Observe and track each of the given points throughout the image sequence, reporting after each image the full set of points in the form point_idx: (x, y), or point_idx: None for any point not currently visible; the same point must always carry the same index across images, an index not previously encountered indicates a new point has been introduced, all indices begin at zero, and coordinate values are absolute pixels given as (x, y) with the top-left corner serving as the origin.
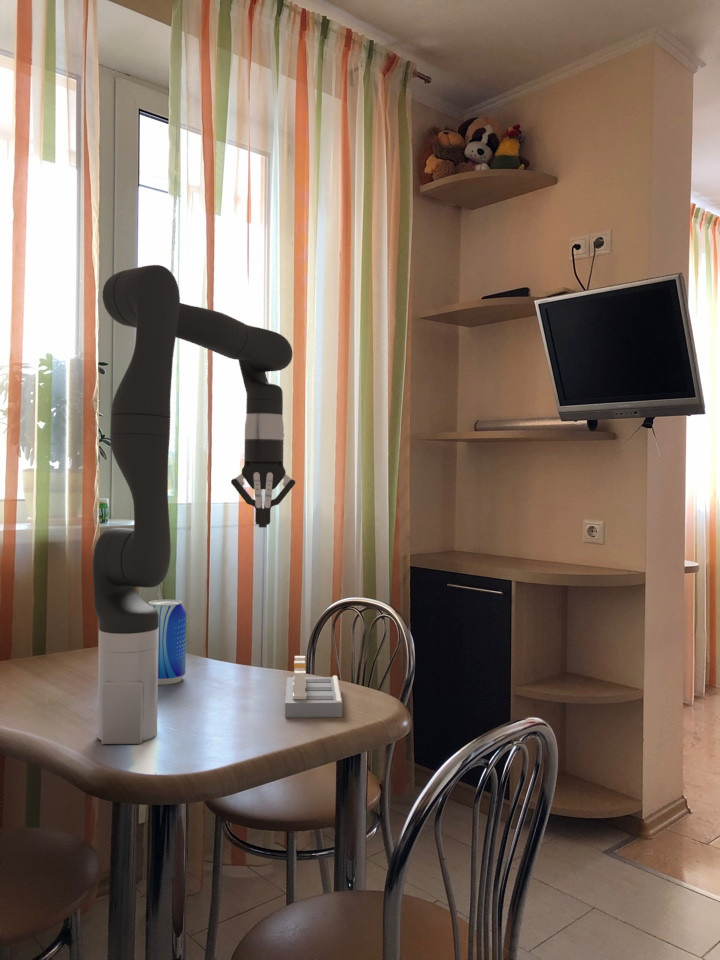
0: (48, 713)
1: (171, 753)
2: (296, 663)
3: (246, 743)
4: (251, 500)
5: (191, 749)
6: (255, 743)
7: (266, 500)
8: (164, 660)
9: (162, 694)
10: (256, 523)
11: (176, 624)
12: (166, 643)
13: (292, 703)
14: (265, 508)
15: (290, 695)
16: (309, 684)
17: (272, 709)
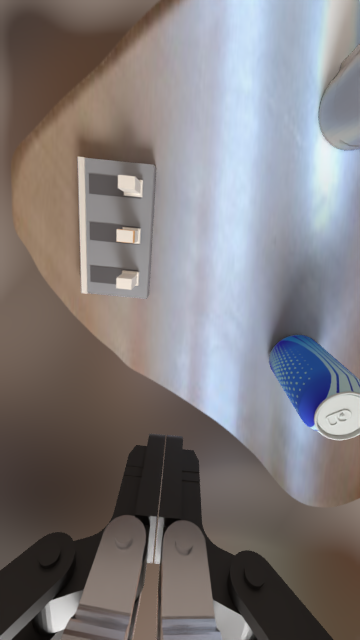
0: None
1: (307, 15)
2: (129, 230)
3: (210, 51)
4: (238, 584)
5: (280, 31)
6: (198, 49)
7: (123, 575)
8: (306, 343)
9: (298, 293)
10: (193, 453)
11: (311, 373)
12: (314, 354)
13: (144, 164)
14: (141, 521)
15: (145, 204)
16: (118, 258)
17: (170, 209)
